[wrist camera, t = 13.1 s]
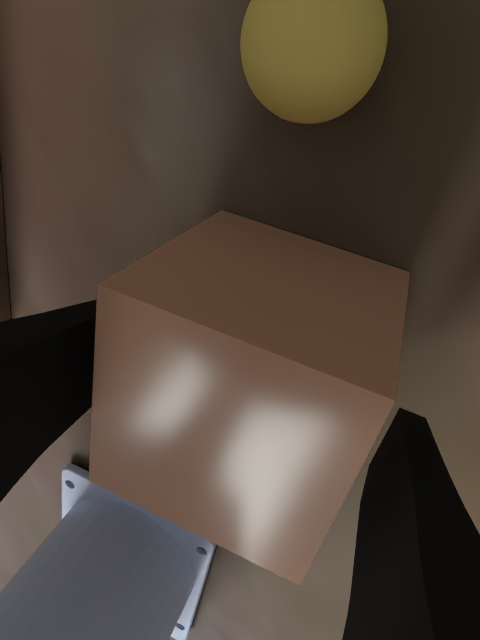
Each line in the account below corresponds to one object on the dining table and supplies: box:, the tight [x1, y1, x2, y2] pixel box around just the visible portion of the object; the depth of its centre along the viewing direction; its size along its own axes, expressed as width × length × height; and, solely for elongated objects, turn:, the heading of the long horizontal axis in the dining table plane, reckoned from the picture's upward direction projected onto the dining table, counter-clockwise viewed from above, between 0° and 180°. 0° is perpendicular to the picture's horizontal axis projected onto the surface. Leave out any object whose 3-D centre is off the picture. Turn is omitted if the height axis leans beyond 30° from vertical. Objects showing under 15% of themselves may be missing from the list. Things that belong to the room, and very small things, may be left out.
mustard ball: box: [240, 0, 388, 124], centre depth 9 cm, size 3×3×3 cm
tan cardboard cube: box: [89, 210, 410, 586], centre depth 12 cm, size 6×6×6 cm
